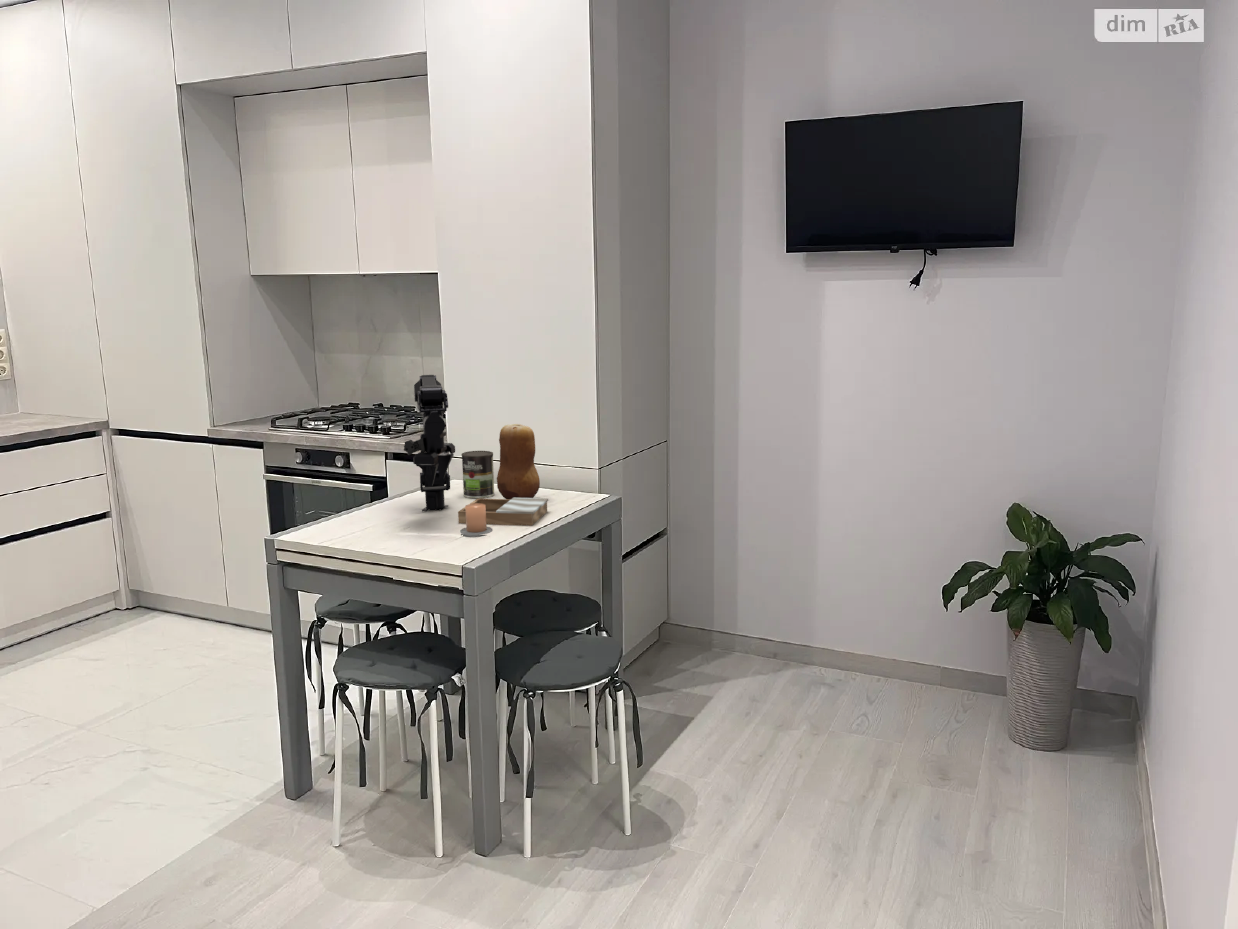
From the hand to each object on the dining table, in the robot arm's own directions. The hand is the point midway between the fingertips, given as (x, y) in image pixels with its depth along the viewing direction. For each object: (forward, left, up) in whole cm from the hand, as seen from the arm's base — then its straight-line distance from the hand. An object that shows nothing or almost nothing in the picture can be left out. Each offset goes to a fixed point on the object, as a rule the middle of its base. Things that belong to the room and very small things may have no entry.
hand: (436, 482), depth 277 cm
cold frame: (-5, +19, -12) cm, 23 cm away
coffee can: (-35, +1, -12) cm, 37 cm away
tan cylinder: (+11, +16, -11) cm, 22 cm away
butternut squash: (-27, +17, -12) cm, 34 cm away
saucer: (+11, +16, -12) cm, 22 cm away
